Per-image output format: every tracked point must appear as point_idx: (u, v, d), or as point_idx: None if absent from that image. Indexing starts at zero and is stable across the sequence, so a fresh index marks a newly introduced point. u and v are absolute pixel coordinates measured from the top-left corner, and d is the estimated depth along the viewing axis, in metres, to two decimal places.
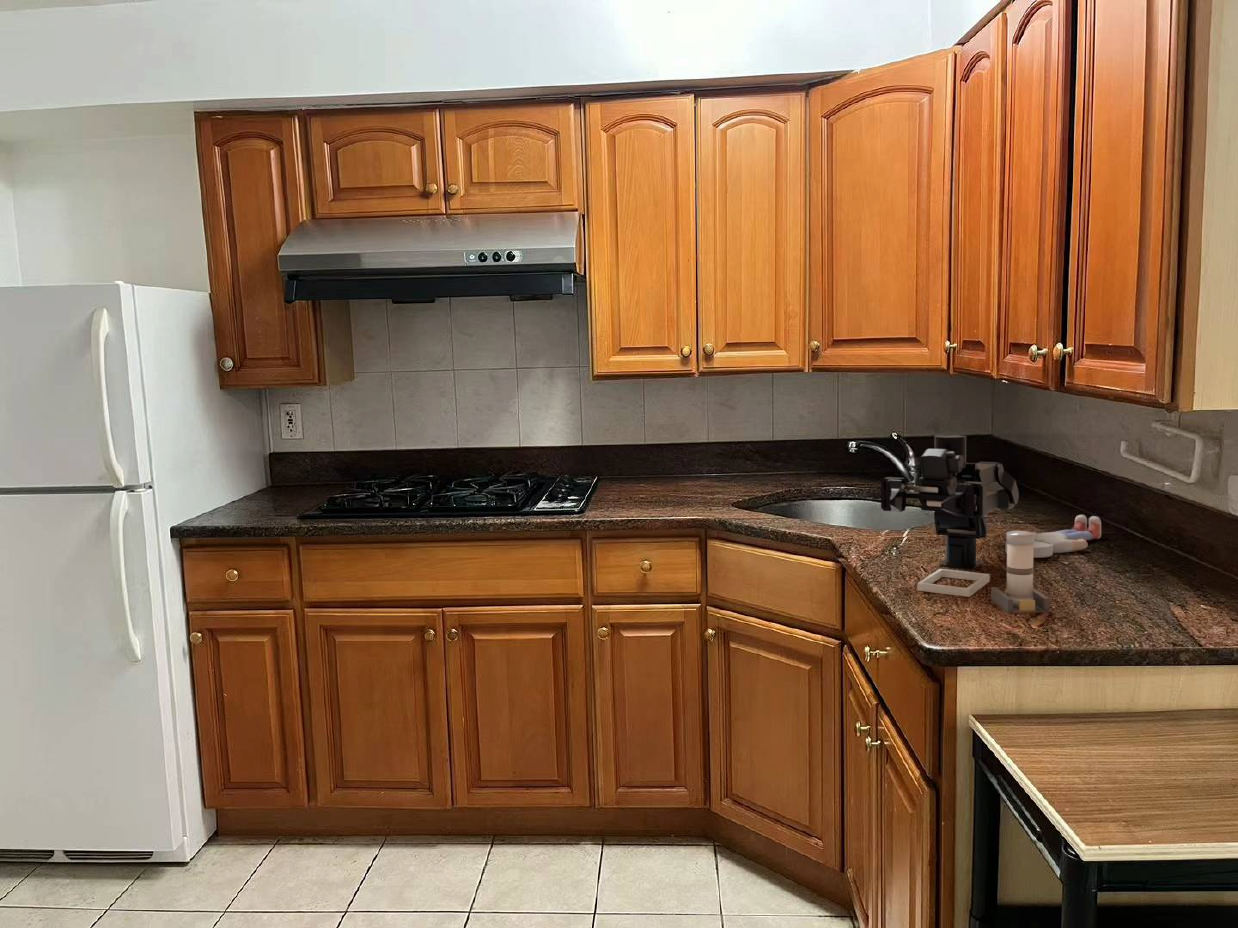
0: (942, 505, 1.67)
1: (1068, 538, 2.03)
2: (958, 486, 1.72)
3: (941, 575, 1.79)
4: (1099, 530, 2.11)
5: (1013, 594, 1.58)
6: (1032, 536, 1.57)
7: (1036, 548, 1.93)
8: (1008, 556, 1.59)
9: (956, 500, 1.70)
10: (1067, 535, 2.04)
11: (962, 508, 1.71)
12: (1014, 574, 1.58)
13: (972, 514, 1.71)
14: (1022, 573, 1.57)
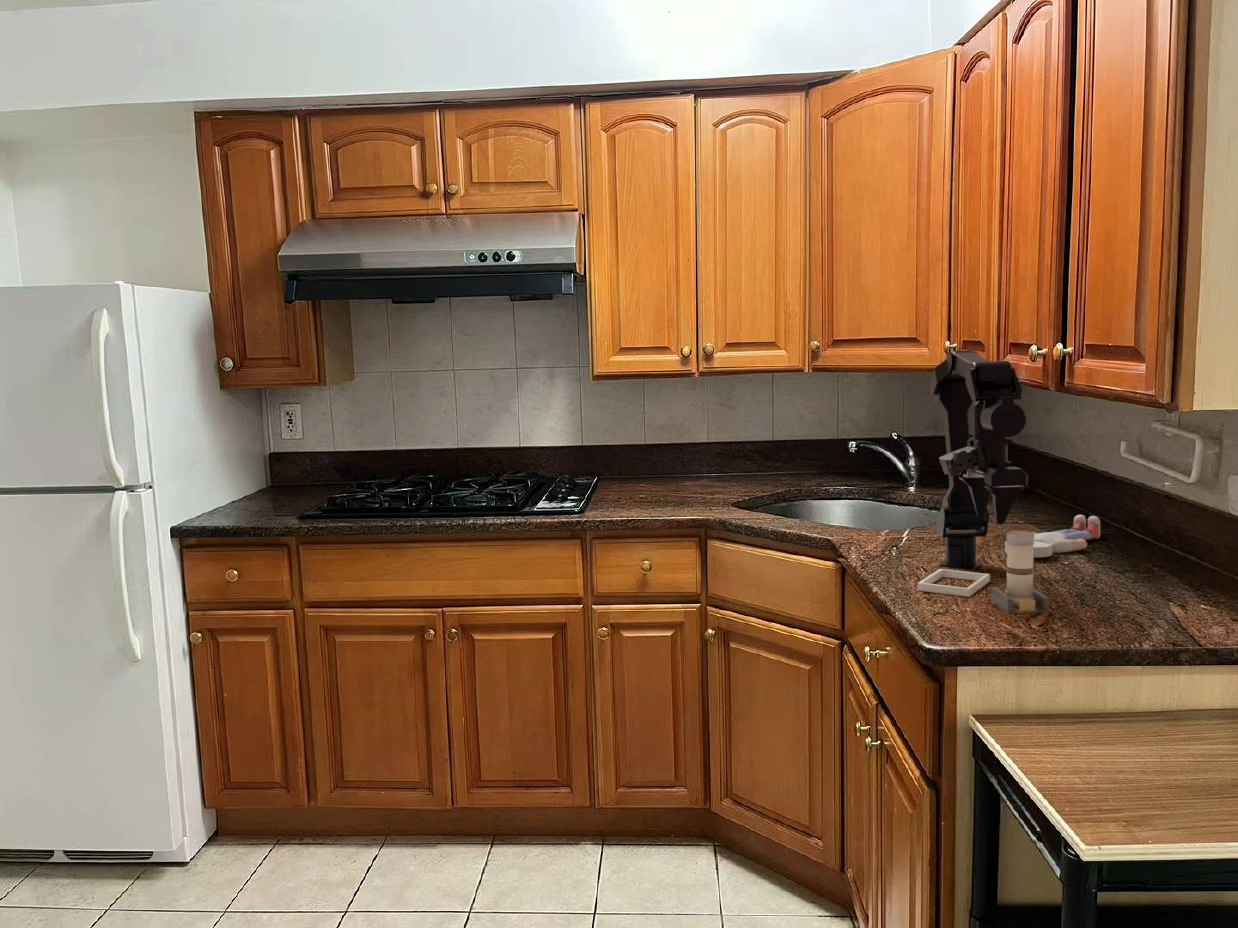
0: (999, 524, 1.67)
1: (1068, 537, 2.03)
2: (987, 489, 1.66)
3: (941, 575, 1.79)
4: (1098, 530, 2.11)
5: (1013, 594, 1.58)
6: (1032, 536, 1.57)
7: (1036, 548, 1.93)
8: (1008, 556, 1.59)
9: (1000, 502, 1.66)
10: (1066, 535, 2.04)
11: (1011, 492, 1.65)
12: (1014, 574, 1.58)
13: None
14: (1022, 573, 1.57)
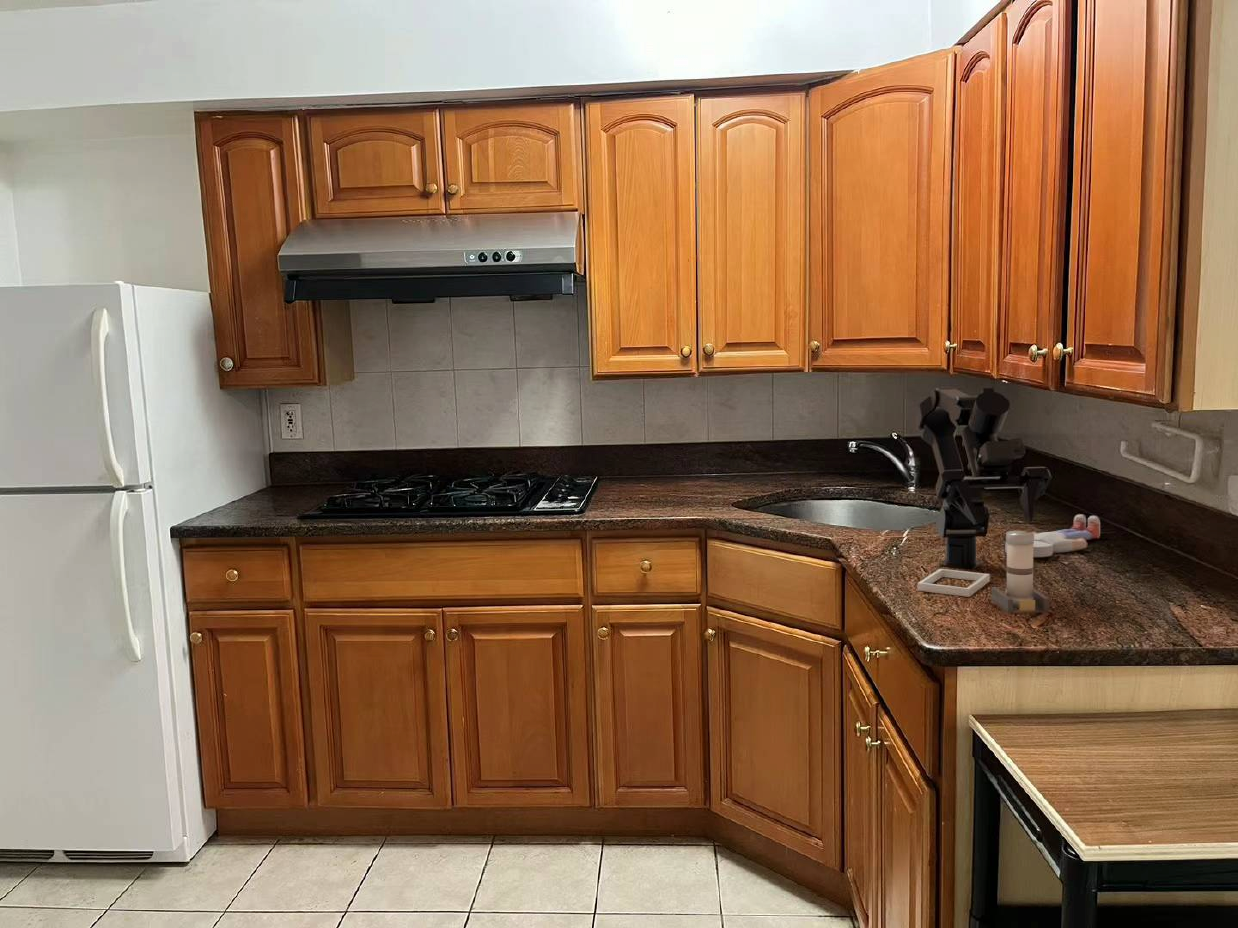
0: (1031, 521, 1.66)
1: (1068, 537, 2.03)
2: (1030, 483, 1.68)
3: (941, 575, 1.79)
4: (1098, 530, 2.11)
5: (1013, 594, 1.58)
6: (1032, 536, 1.57)
7: (1036, 548, 1.93)
8: (1008, 556, 1.59)
9: None
10: (1067, 535, 2.04)
11: None
12: (1014, 574, 1.58)
13: (1036, 498, 1.72)
14: (1022, 573, 1.57)
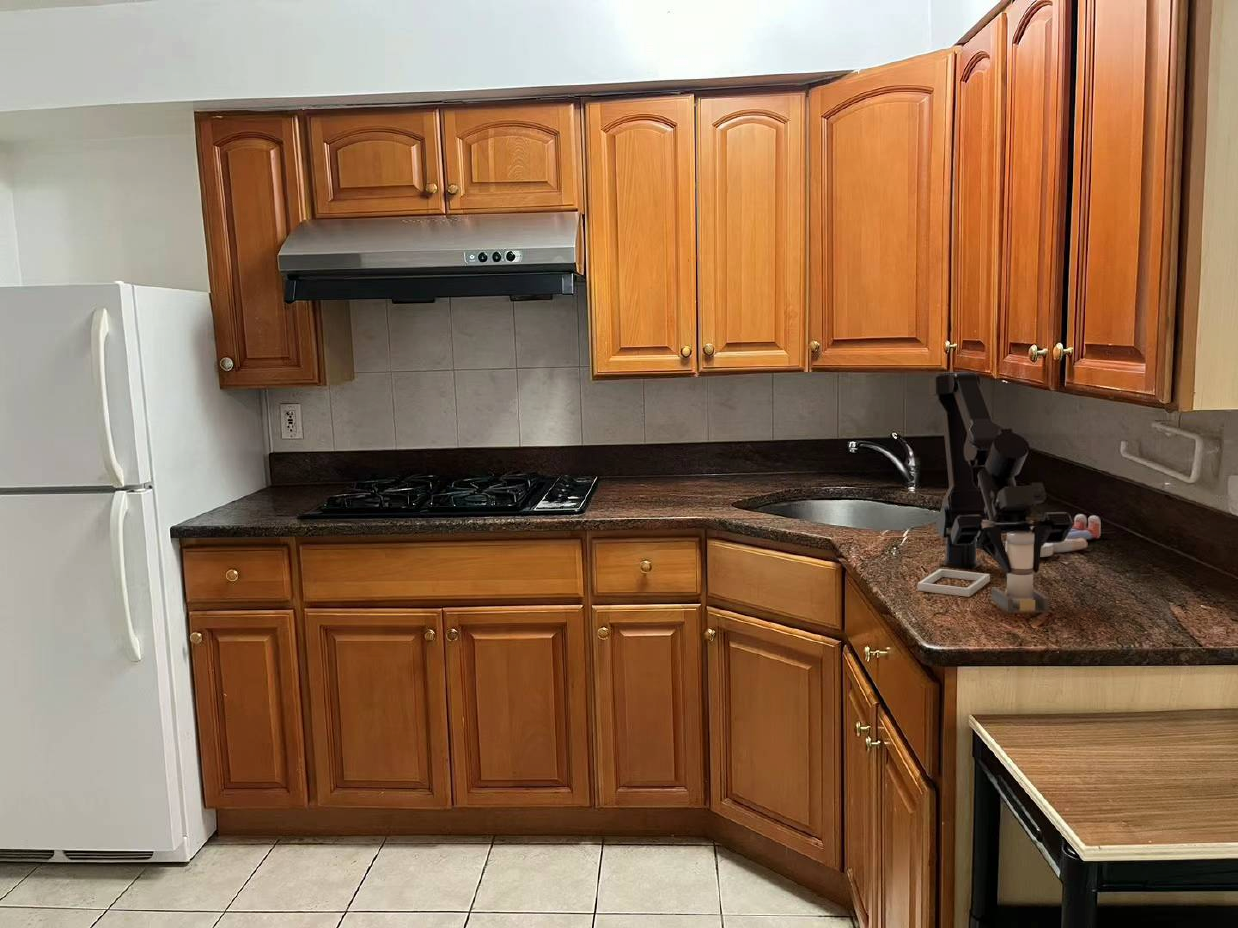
0: (1037, 571, 1.58)
1: (1068, 537, 2.04)
2: (1036, 530, 1.60)
3: (941, 575, 1.79)
4: (1098, 529, 2.11)
5: (1013, 594, 1.58)
6: (1032, 536, 1.57)
7: None
8: (1008, 556, 1.59)
9: None
10: None
11: None
12: (1014, 574, 1.58)
13: (1042, 545, 1.63)
14: (1022, 573, 1.57)
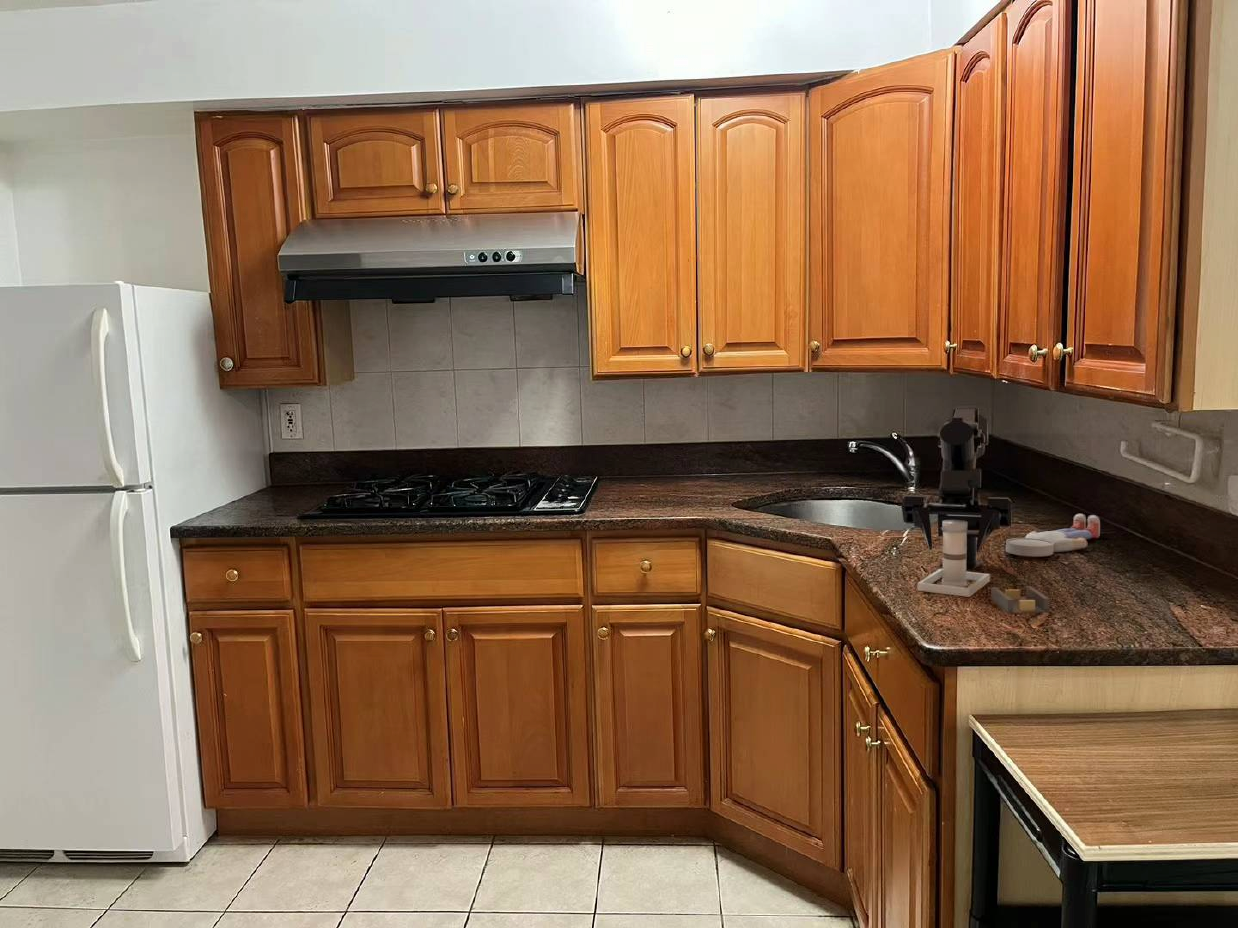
0: (977, 550, 1.70)
1: (1068, 537, 2.04)
2: (983, 513, 1.71)
3: (941, 575, 1.79)
4: (1098, 529, 2.12)
5: (945, 577, 1.72)
6: (962, 525, 1.70)
7: (1037, 547, 1.94)
8: (943, 542, 1.73)
9: (985, 530, 1.71)
10: (1067, 534, 2.05)
11: (989, 527, 1.73)
12: (946, 558, 1.72)
13: (998, 528, 1.74)
14: (952, 558, 1.71)
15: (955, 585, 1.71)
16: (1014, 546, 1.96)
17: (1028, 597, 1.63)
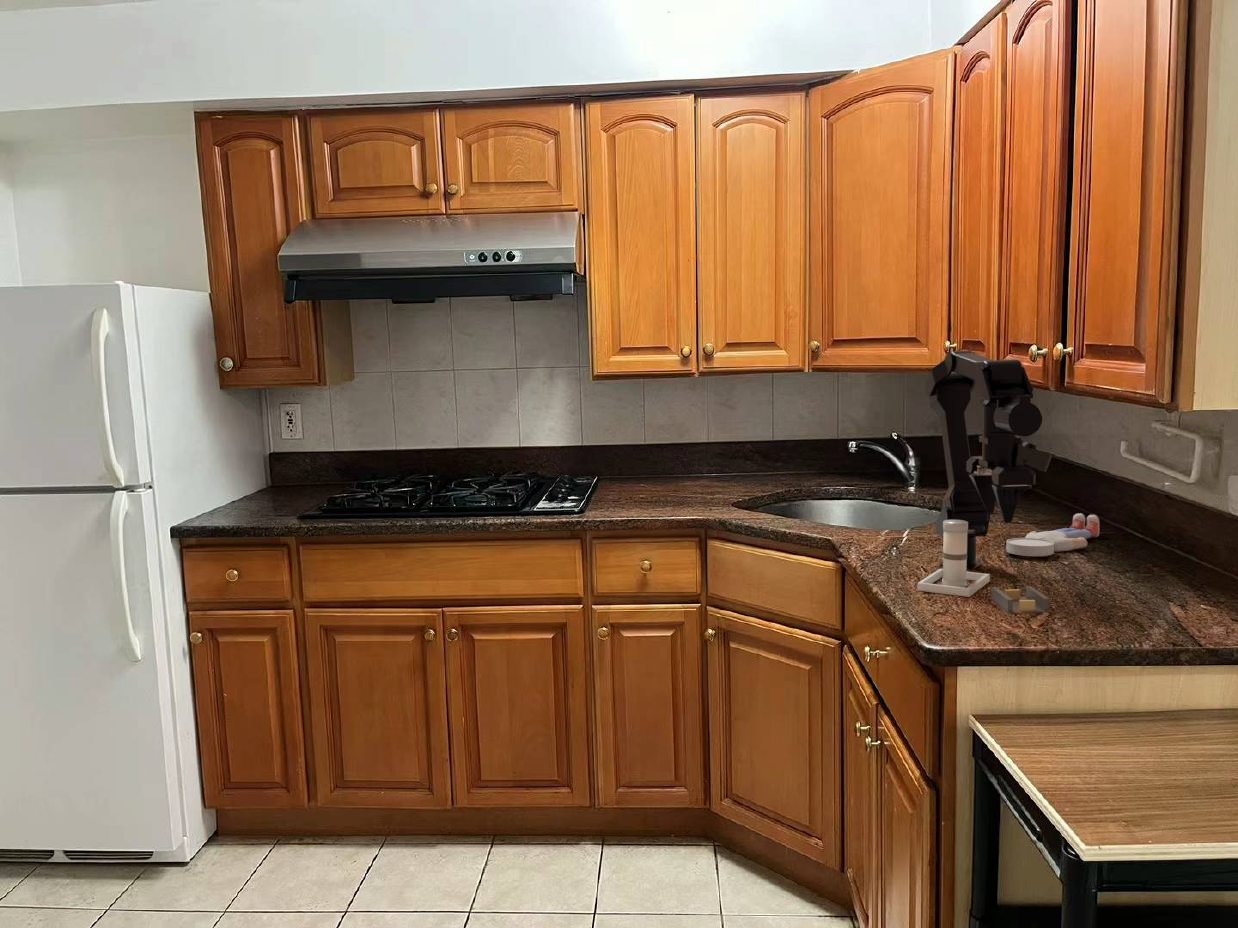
0: None
1: (1068, 536, 2.05)
2: None
3: (941, 575, 1.79)
4: (1097, 528, 2.12)
5: (945, 577, 1.72)
6: (963, 525, 1.70)
7: (1038, 547, 1.94)
8: (943, 542, 1.73)
9: None
10: (1067, 534, 2.05)
11: None
12: (946, 558, 1.72)
13: None
14: (952, 558, 1.71)
15: (955, 585, 1.71)
16: (1014, 546, 1.96)
17: (1028, 597, 1.63)
